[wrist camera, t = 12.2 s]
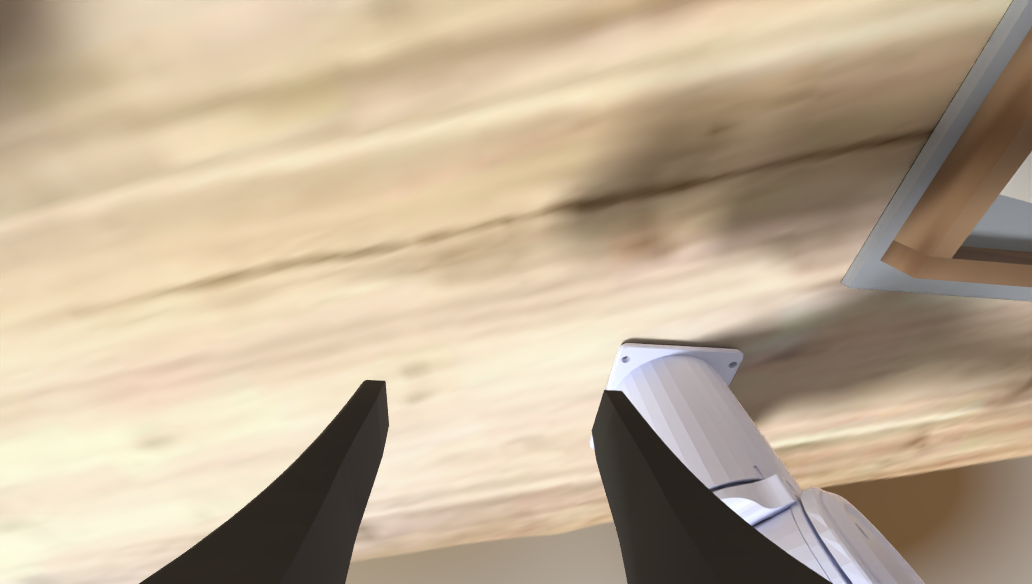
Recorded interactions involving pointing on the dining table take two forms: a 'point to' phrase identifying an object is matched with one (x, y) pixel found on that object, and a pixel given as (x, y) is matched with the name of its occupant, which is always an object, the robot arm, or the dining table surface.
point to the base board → (1003, 221)
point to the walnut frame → (973, 190)
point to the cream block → (1021, 182)
